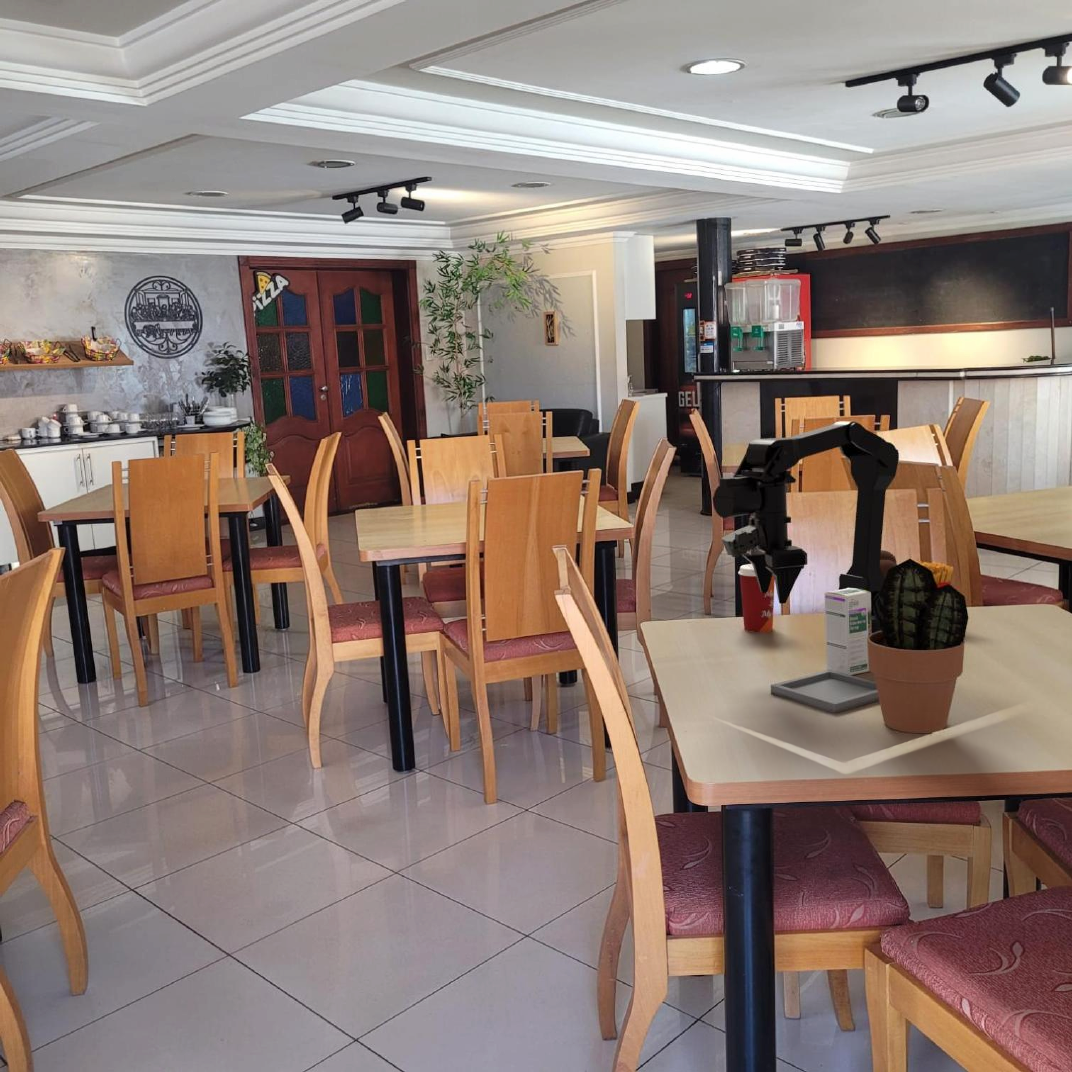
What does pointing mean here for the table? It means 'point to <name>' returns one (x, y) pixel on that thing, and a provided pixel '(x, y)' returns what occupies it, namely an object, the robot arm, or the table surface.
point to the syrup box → (847, 630)
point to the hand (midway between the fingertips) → (773, 597)
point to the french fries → (940, 577)
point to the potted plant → (917, 648)
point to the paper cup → (756, 601)
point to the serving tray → (828, 691)
